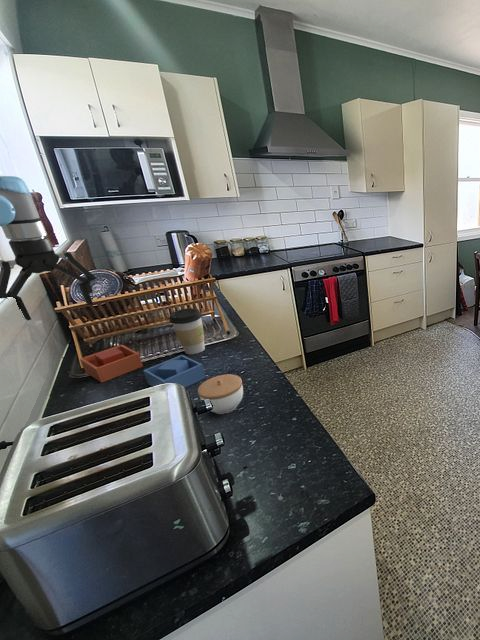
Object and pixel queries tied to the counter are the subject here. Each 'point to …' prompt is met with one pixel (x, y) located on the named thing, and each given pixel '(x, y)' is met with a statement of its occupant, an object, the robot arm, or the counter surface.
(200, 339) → the coffee cup
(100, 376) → the rust bin
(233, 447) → the counter surface
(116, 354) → the rust block
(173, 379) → the blue bin
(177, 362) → the blue block
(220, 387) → the trinket box
